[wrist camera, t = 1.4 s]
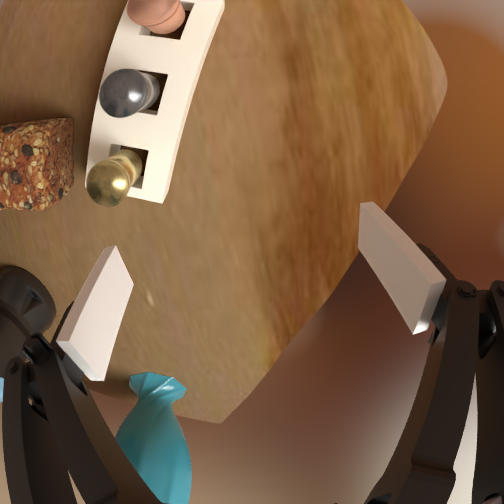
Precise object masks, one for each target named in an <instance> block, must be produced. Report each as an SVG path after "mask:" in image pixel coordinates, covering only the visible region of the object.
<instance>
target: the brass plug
mask: <svg viewBox="0 0 504 504" xmlns="http://www.w3.org/2000/svg"><path fill="white" fill-rule="evenodd" d="M141 172H142V162H141V159H140V157H139V156H138V155H137V154H136V153H135V152H133V151H131V150H127V149H124V150H120V151H118V152H116V153H115V154H113V155H112V156H110V157H109V158H108V159H106V160H103V161H101V162H99V163H97V164H96V165H95V166H93V167H92V168H91V170H90V171H89V173H88V175H87V179H86V187H87V191H88V193H89V195H90V197H91V198H92V199H93V200H94V201H95V202H96V203H98V204H100V205H102V206H106V207H111V206H115V205H117V204H119V203H120V202H122V201H123V199H124V198H125V197H126V195H127V194H128V192H129V189H130V188H131V186H132V185H133V184H134V183H135V181H136V180H137V179H138V178H139V177H140V175H141Z"/></svg>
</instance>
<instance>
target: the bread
mask: <svg viewBox="0 0 504 504" xmlns="http://www.w3.org/2000/svg"><path fill="white" fill-rule="evenodd" d="M73 121H74V120H73V119H72V118H54V119H44V120H35V121H28V122H21V123H13V124H7V125H2V126H0V210H3V209H8V208H16V209H18V210H32V211H37V210H46V209H48V208H50V207H52V206H54V205H55V204H56V203H57V201H60V200H61V198H62V196H65V195H66V194H68V192H67V191H69V190H70V188H71V186H72V185H73V181H74V177H73V174H72V173H73V169H74V162H73V158H72V145H73V128H74V123H73Z"/></svg>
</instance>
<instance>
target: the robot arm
mask: <svg viewBox="0 0 504 504" xmlns="http://www.w3.org/2000/svg"><path fill="white" fill-rule="evenodd" d="M358 248H359V250H360V251H361V253H362V254H363V256H364V257H365V258H366V260H367V261H368V263H369V264H370V266H371V267H372V269H373V270H374V272H375V273H376V275H377V276H378V278H379V280H380V281H381V282H382V284H383V286H384V287H385V289H386V290H387V292H388V294H389V295H390V297H391V298H392V300H393V302H394V303H395V305H396V307H397V308H398V310H399V311H400V313H401V315H402V316H403V318H404V320H405V321H406V323H407V325H408V327H409V329H410V330H411V332H412V334H416V333H419V332H422V331H424V330H427V328H428V326H429V324H430V322H431V320H432V322H433V323H434V325H435V328H434V330H433V332H432V335H431V337H430V339H429V341H428V343H430V342H431V343H430V347H429V352H428V356H427V360H426V364H425V367H424V371H423V375H422V378H421V382H420V385H419V388H418V391H417V395H416V397H415V400H414V403H413V406H412V409H411V412H410V415H409V418H408V420H407V423H406V426H405V428H404V430H403V433H402V435H401V438H400V440H399V442H398V445H397V447H396V449H395V451H394V454H393V456H392V458H391V460H390V462H389V464H388V466H387V468H386V470H385V472H384V474H383V476H382V477H381V478H380V480H379V481H378V482H377V483H376V485H375V486H374V488H373V489H372V491H371V492H370V494H369V496H368V498H367V499H366V501H365V503H364V504H447V501H448V499H449V497H450V494H451V492H452V490H453V487H454V484H455V480H456V474H455V472H454V470H453V465H454V461H455V458H456V455H457V452H458V449H459V446H460V442H461V439H462V435H463V431H464V427H465V423H466V419H467V415H468V410H469V405H470V400H471V395H472V389H473V383H474V376H475V374H476V386H477V408H478V409H477V410H478V430H477V450H476V463H475V471H474V479H473V488H472V504H504V281H500V280H496V281H494V282H492V284H491V286H490V289H489V290H477V289H476V288H475V286H474V285H472V284H471V283H469V282H467V281H462V280H459V281H458V280H457V279H456V278H455V277H454V275H453V274H452V273H451V272H450V271H449V270H448V269H447V267H446V266H445V265H444V264H443V263H442V262H441V261H440V260H439V258H438V257H436V255H435V254H434V253H433V252H432V251H431V250H430V249H429V248H427V247H426V246H424V245H422V244H414V242H413V241H412V240H411V239H410V238H409V237H408V236H407V235H406V234H405V233H404V232H403V231H402V230H401V229H400V228H399V227H398V226H397V225H396V224H395V223H394V222H393V221H392V220H391V219H390V218H389V217H388V216H387V215H386V214H385V213H384V212H383V211H382V210H381V209H380V208H379V207H378V206H377V205H376V204H375V203H374V202H366V203H360V221H359V237H358ZM133 285H134V284H133V282H132V280H131V278H130V276H129V273H128V271H127V269H126V267H125V265H124V263H123V261H122V258H121V256H120V254H119V252H118V249H117V247H116V245H115V246H110V247H106V248H104V249H103V251H102V253H101V254H100V256H99V258H98V259H97V261H96V263H95V265H94V266H93V268H92V270H91V272H90V273H89V275H88V277H87V279H86V281H85V282H84V284H83V286H82V288H81V290H80V292H79V294H78V296H77V298H76V300H75V301H73V302H72V303H71V304H70V306H69V307H68V308H67V309H66V311H65V313H64V315H63V318H62V319H61V321H60V325H58V328H57V330H56V332H55V334H54V336H53V339H52V341H51V343H49V342H48V341H47V340H46V339H45V337H44V336H43V335H42V334H43V333H44V332H45V331H46V330H47V329H49V328H50V326H51V325H52V323H53V321H54V319H55V316H56V308H55V304H54V302H53V299H52V297H51V296H50V294H49V292H48V291H47V290H46V288H45V287H44V286H43V285H42V284H41V282H40V281H39V280H37V279H36V278H35V277H34V276H33V275H31V274H30V273H29V272H27V271H25V270H23V269H21V268H18V267H14V266H9V267H6V268H4V269H3V270H2V271H1V273H0V402H3V403H2V406H3V407H2V432H3V451H4V462H5V470H6V477H7V483H8V489H9V494H10V500H11V504H77V501H76V498H75V495H74V492H73V488H72V484H71V481H70V477H69V473H70V475H71V477H72V479H73V481H74V483H75V485H76V487H77V489H78V490H79V492H80V494H81V496H82V498H83V500H84V501H85V503H86V504H163V503H162V502H161V501H160V500H159V499H158V498H157V497H156V496H155V494H154V493H153V492H152V491H151V489H150V488H149V487H148V486H147V484H146V483H145V482H144V480H143V479H142V478H141V476H140V475H139V474H138V472H137V471H136V470H135V468H134V467H133V465H132V464H131V462H130V461H129V459H128V458H127V456H126V455H125V453H124V452H123V450H122V449H121V447H120V446H119V444H118V442H117V441H116V439H115V438H114V436H113V434H112V433H111V431H110V429H109V427H108V426H107V424H106V422H105V421H104V419H103V417H102V415H101V413H100V411H99V409H98V408H97V405H96V404H95V402H94V400H93V398H92V396H91V394H90V391H89V389H88V387H87V385H86V383H85V382H84V381H83V380H82V377H83V374H85V375H86V376H87V377H88V378H89V379H90V380H92V381H104V379H105V375H106V371H107V368H108V364H109V360H110V357H111V353H112V350H113V346H114V343H115V339H116V336H117V333H118V330H119V326H120V323H121V320H122V317H123V314H124V311H125V308H126V305H127V302H128V299H129V296H130V294H131V291H132V288H133ZM26 358H28V359H29V360H30V362H27V363H25V361H26ZM28 398H29V399H31V400H32V405H30V404H29V400H28ZM68 471H69V473H68ZM335 504H337V503H335Z"/></svg>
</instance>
